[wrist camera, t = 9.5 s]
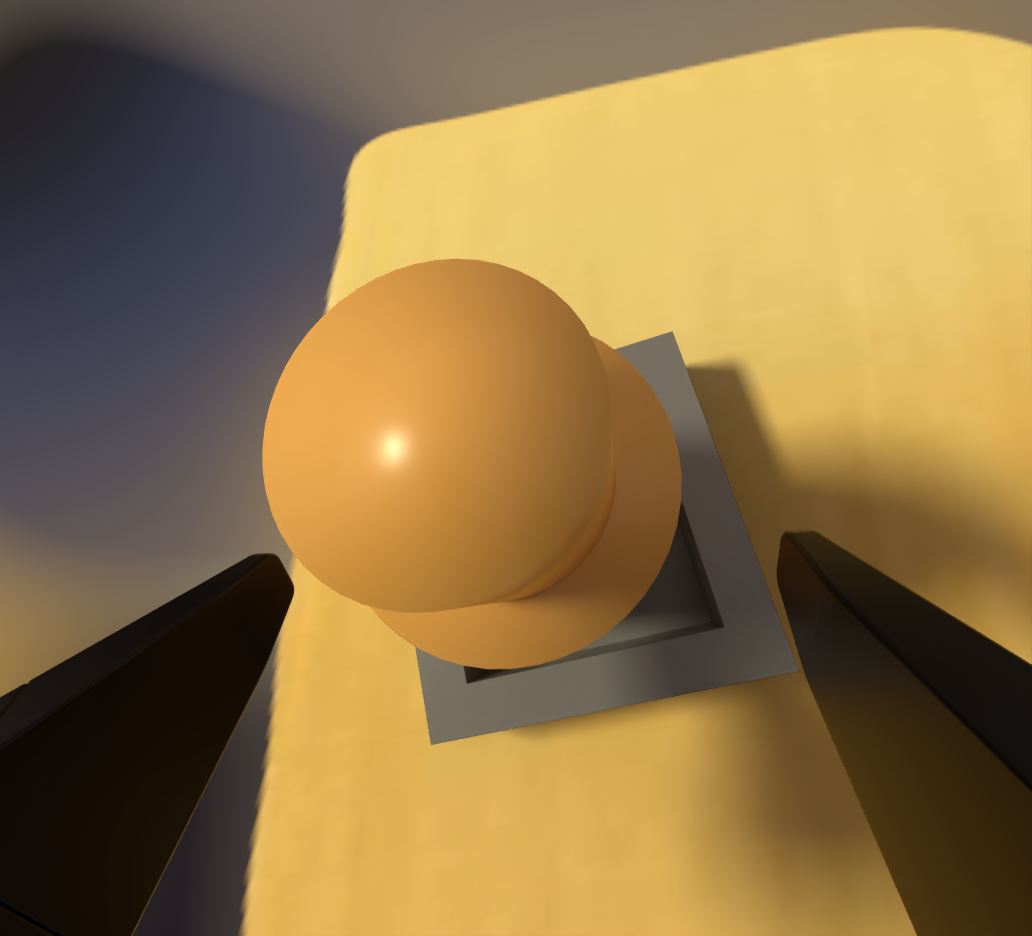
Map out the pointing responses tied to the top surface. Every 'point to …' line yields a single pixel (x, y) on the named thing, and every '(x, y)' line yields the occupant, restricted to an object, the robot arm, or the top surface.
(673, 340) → the socket
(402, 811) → the top surface
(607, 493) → the peach lotion bottle
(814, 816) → the top surface
